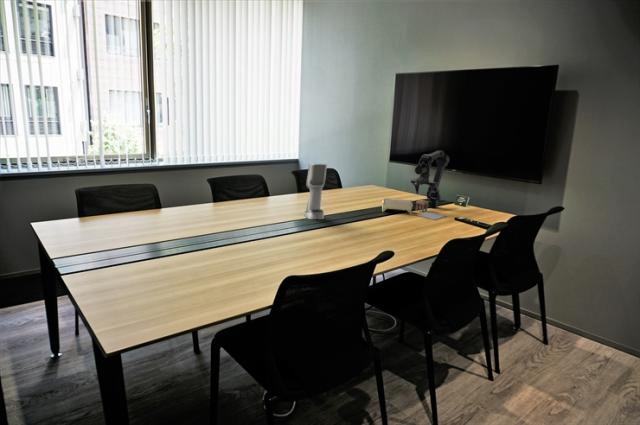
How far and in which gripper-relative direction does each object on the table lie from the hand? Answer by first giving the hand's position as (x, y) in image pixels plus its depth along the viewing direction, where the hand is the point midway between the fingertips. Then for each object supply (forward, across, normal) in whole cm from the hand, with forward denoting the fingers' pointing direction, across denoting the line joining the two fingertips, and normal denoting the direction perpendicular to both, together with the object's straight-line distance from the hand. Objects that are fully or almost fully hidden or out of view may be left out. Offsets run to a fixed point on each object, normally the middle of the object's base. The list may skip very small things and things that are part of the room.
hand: (423, 194), depth 298 cm
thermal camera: (+11, -36, -74) cm, 83 cm away
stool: (+12, 0, 0) cm, 12 cm away
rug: (+12, +12, -8) cm, 19 cm away
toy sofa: (+12, -10, -17) cm, 23 cm away
